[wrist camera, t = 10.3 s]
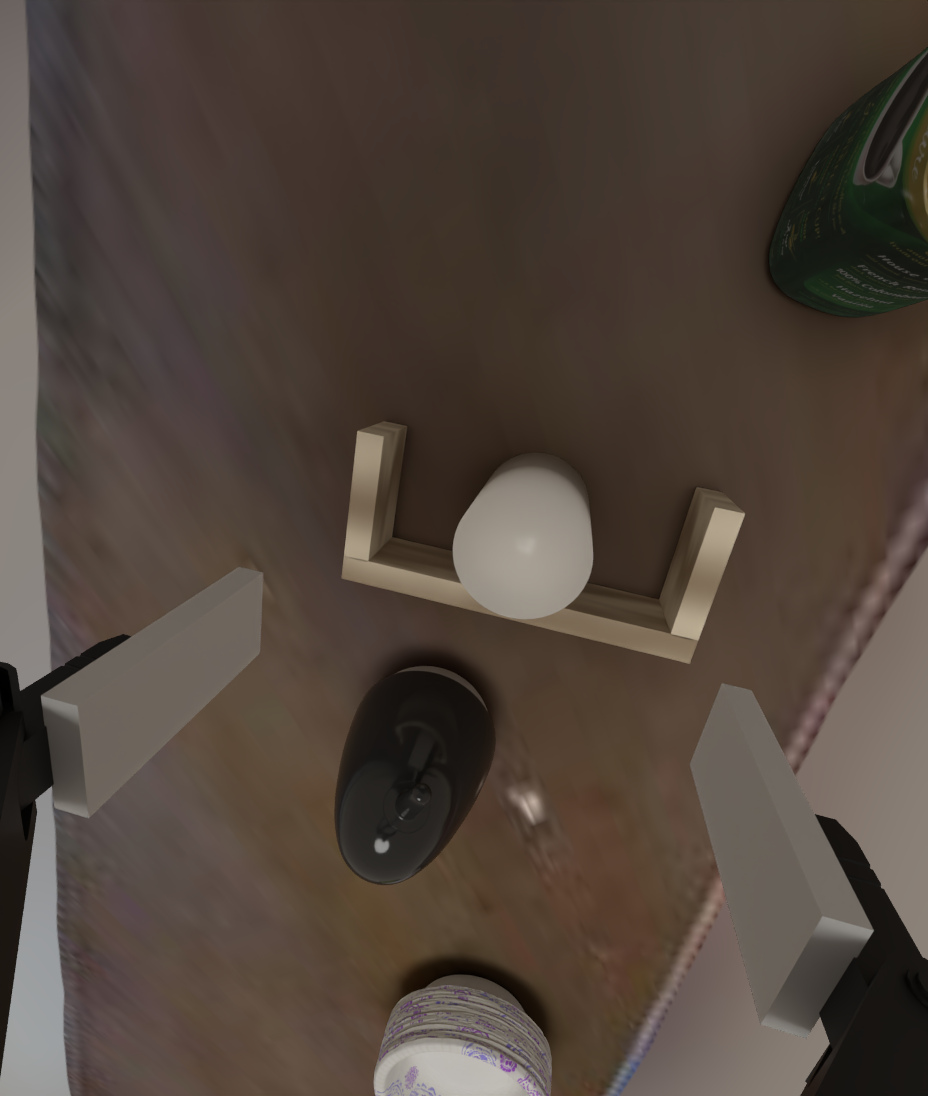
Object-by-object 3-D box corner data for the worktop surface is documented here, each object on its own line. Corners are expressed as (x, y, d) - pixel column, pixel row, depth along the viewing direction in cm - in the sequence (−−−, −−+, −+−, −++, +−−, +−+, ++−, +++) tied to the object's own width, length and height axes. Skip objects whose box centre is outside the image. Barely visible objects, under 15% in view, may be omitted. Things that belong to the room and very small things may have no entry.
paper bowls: (576, 989, 51) (577, 1096, 44) (523, 1081, 57) (516, 1190, 49) (419, 927, 52) (394, 1021, 45) (382, 1022, 58) (354, 1120, 51)
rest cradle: (384, 421, 37) (357, 430, 33) (722, 492, 35) (745, 513, 30) (368, 552, 41) (341, 578, 36) (675, 625, 38) (689, 663, 34)
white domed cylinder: (494, 442, 37) (465, 472, 27) (601, 465, 36) (609, 504, 27) (474, 542, 39) (442, 600, 30) (574, 565, 38) (573, 633, 29)
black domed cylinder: (529, 691, 42) (506, 862, 28) (459, 779, 46) (408, 968, 32) (413, 618, 42) (331, 753, 28) (353, 712, 46) (254, 873, 32)
